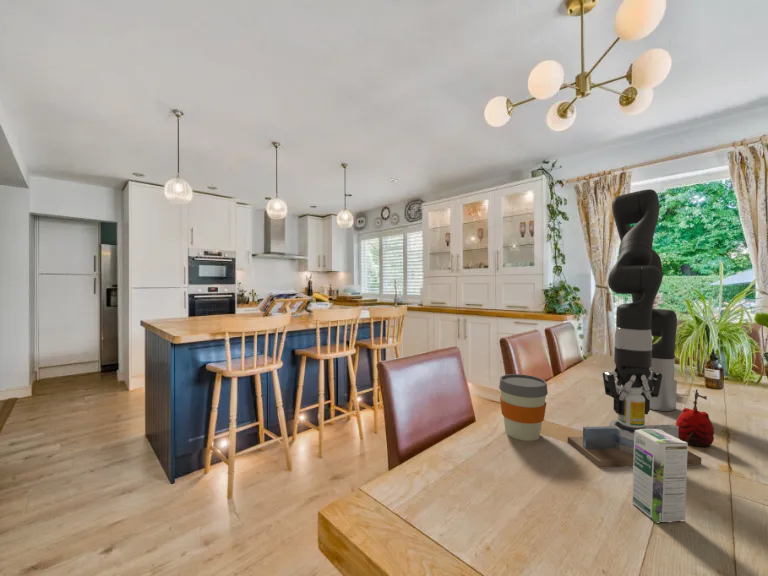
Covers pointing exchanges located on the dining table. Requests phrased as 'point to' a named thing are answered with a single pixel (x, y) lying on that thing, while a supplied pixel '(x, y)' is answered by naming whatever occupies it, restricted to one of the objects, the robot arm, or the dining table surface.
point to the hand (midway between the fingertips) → (631, 413)
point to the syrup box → (659, 475)
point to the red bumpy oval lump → (695, 426)
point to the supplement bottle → (633, 409)
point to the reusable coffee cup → (523, 405)
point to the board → (614, 455)
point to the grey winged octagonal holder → (618, 436)
